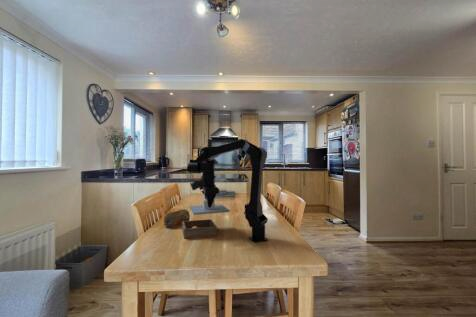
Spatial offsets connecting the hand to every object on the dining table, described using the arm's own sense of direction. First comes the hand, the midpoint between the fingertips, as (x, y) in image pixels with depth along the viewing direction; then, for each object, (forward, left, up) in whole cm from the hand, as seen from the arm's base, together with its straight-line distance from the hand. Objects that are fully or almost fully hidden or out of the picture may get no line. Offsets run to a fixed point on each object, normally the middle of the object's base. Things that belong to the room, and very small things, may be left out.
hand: (208, 206), depth 119 cm
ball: (-4, +7, -11) cm, 14 cm away
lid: (0, 0, -2) cm, 2 cm away
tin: (+15, +14, -13) cm, 24 cm away
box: (-2, +5, -12) cm, 13 cm away
